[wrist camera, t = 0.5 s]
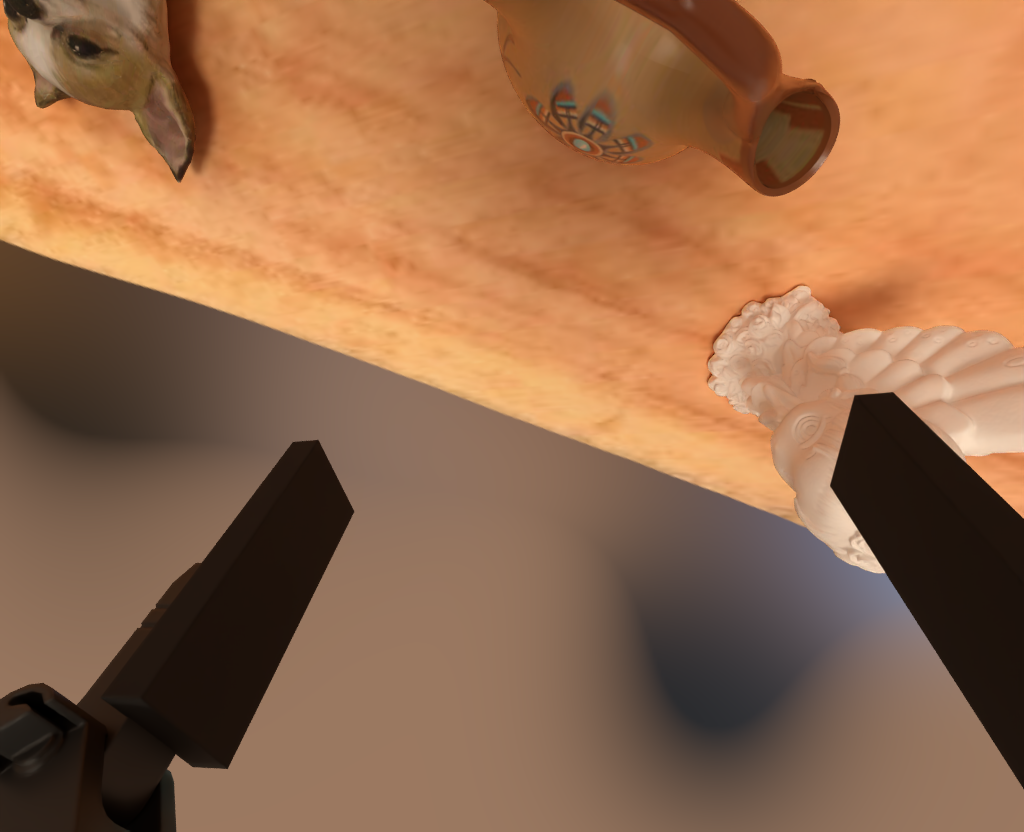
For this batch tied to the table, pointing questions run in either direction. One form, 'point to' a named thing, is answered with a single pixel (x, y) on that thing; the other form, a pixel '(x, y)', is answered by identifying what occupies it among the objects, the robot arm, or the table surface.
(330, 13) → the table surface
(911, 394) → the cherub figurine
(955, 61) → the table surface
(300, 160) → the table surface
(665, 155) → the ceramic vessel
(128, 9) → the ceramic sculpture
